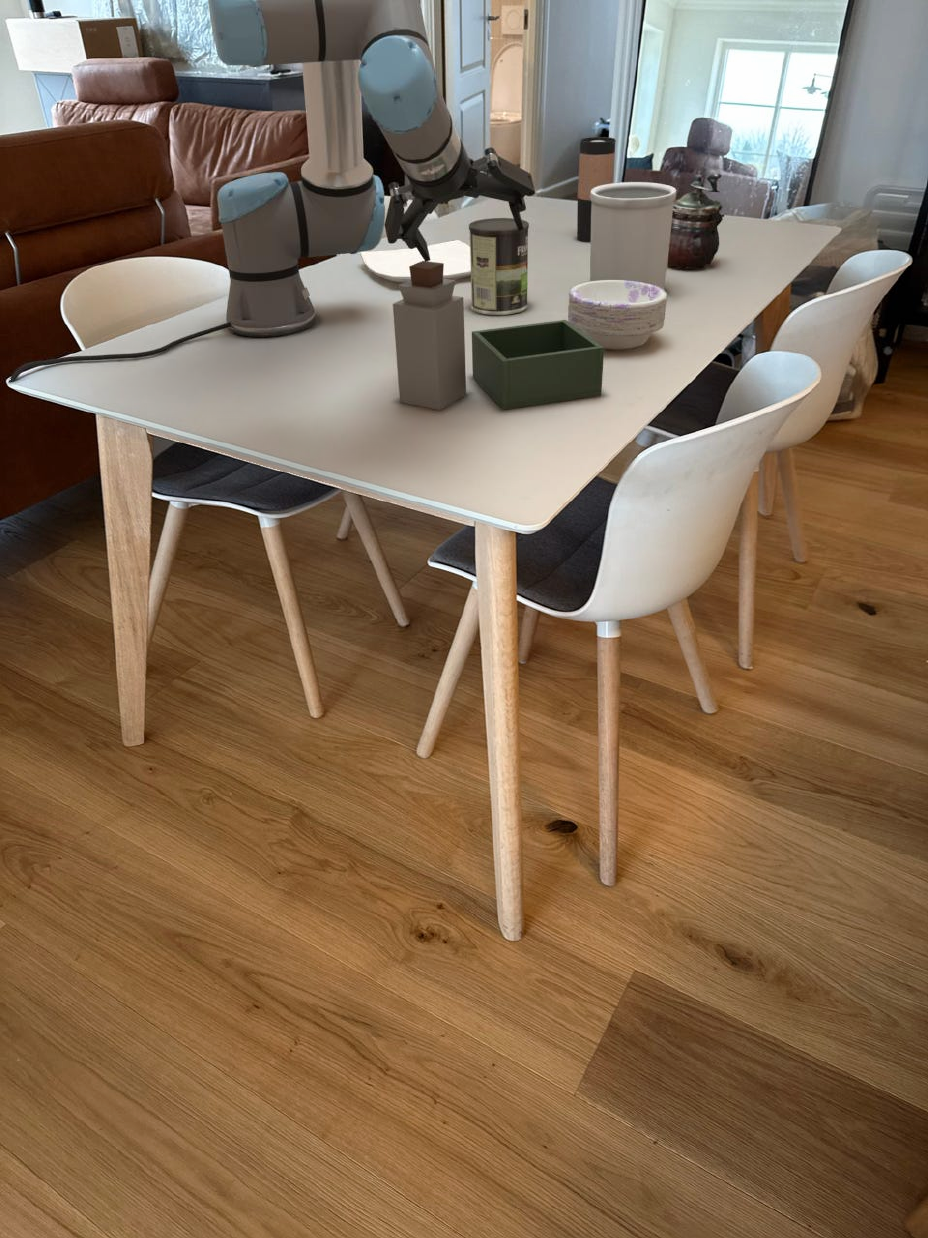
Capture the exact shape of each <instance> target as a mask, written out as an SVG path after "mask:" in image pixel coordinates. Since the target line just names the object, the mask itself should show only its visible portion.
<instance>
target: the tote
mask: <svg viewBox="0 0 928 1238" xmlns="http://www.w3.org/2000/svg"><path fill="white" fill-rule="evenodd" d="M604 357H605V349H604V347H603V346H601V345H600V344H599V343H597V342H596V341H594V340H593V339H592V338H590V337H589V336H587V335H586V334H585V333H583V332H582V331H581V330H579V329H578V328H576V327H575V326H574V325H572V324H571V323H570V322H569V321H568V319H561V320H560V319H559V320H551V321H544V322H537V323H528V324H521V325H514V326H505V327H497V328H488V329H481V330H474V331H471V359H472V362H471V363H472V364H471V365H472V366H471V367H472V378H473V379H474V380H475V381H476V382H477V383H478V385H479V386H480V387H481V388H482V389H483V390H484V391H485V392H486V394H488V395H489V397H490V398H491V399H492V400H493V401H494V402H495V403H496V404H497V405H498V407H500V409H501V410H502V411H505V410H506V411H507V410H513V409H519V408H526V407H532V406H540V405H545V404H553V403H558V402H565V401H566V402H567V401H573V400H579V399H587V398H594V397H598V396H599V397H600V396H602V390H603V373H604Z"/></svg>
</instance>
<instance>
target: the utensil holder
mask: <svg viewBox="0 0 928 1238" xmlns="http://www.w3.org/2000/svg"><path fill="white" fill-rule="evenodd" d="M676 197H677V189H676V188H675V187H674V186H671V185H668V184H664V183H657V182H649V181H648V182H647V181H628V182H626V181H623V182H613V183H612V184H606V185H601V186H597V187H595V188H593V189H592V190H591V192H590V199H591V202H592V207H591V242H590V247H589V248H590V250H589V251H590V252H589V282H591V281H600V280H625V281H635V282H642V283H647V284H651V285H654V286H657V287H659V288H661V289H663V290H664V291H665V287H666V278H667V270H668V266H667V262H668V252H669V242H670V233H671V222H672V212H673V202H674V200H676Z"/></svg>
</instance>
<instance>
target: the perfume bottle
mask: <svg viewBox="0 0 928 1238" xmlns="http://www.w3.org/2000/svg"><path fill="white" fill-rule="evenodd" d="M409 269H410V276H411V280H410V281H408V282H406V283H401V284H398V288H399V290H400V293H401V297H402V299H400V300H397V301H396V302H393V303H392V313H393V314H392V315H393V326H394V328H393V329H394V338H395V339H394V340H395V355H396V356H395V357H396V368H397V380H398V395H399V396H398V397H399V402H400V403H404V404H408V405H411V406H412V405H413V406H417V407H422V408H426V409H431V410H436V411H441V410H443V409H445V408H446V407H448V406H450V405H451V404H453V403H455V402H456V401H457V400H459V399H461V398H462V397H465V396H466V395H467V378H466V377H467V376H466V343H465V342H466V341H465V340H466V339H465V306H464V296H459V295H453V294H454V289H455V286H456V281H457V279H453V280H450V279H443V269H444V263H437V262H429V261H421V262H419V263H416V264H414V265H411V266H409Z"/></svg>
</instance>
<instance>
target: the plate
mask: <svg viewBox="0 0 928 1238" xmlns="http://www.w3.org/2000/svg"><path fill="white" fill-rule="evenodd" d="M427 247H428V251H429V256H430V261H429V262H437V263H444V269H443V279H450V280H457V279H463V278H466V277H469V276H470V277H471V263H470V245H468V244H467V243H464V242H463V241H461V240H460V239H459V240H458V239H456V240H450V241H446V242H441V243H433V244H430V245H427ZM359 254H360V257H361V259H362V261H363V263H364V265H365V267H366V268H367V269H369V271H370V272H372V273H373V274H375V275H376V276H378V277H379V278H381V279H385V280H388V281H391V282H395V283H401V284H403V283H406V282H408V281H410V280H411V276H410V269H409V266H411V265H414V264H416V263H419V262H421V261H425V260H424V259H423V257H422V256H421V254H420V253H419V251H418V249H417V248H414V249H410V248H402V249H392V250H369V251H362V252H359Z"/></svg>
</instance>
